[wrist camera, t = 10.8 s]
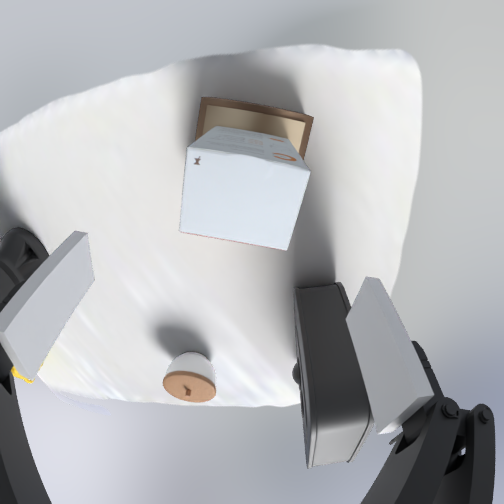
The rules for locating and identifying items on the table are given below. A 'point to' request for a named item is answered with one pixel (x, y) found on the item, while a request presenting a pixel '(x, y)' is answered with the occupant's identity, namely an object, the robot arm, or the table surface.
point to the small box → (243, 187)
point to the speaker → (329, 377)
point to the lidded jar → (191, 378)
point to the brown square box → (255, 120)
